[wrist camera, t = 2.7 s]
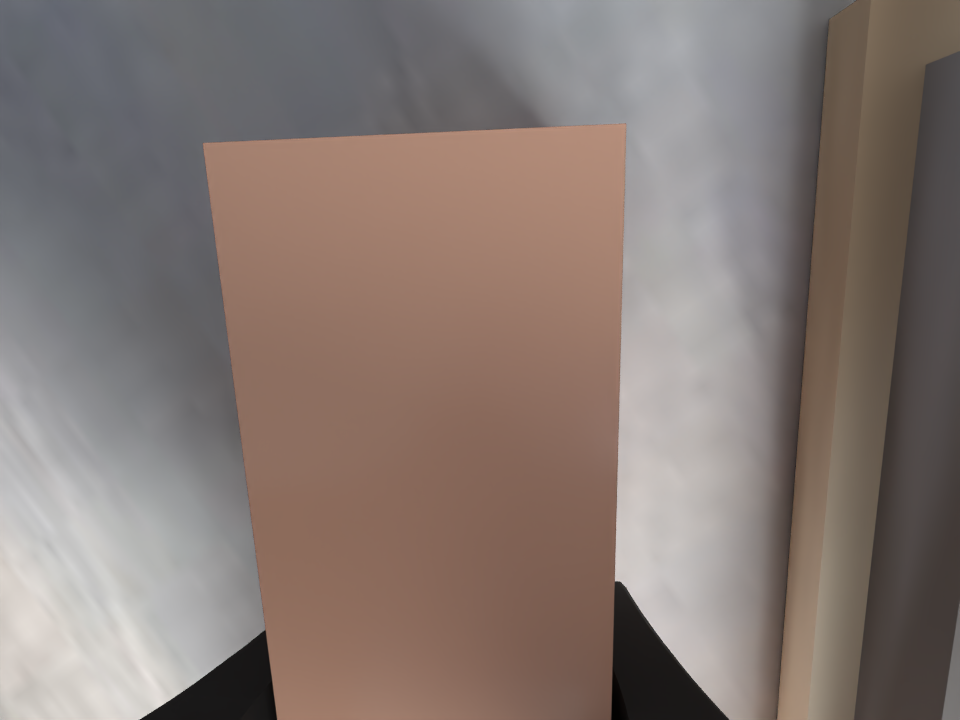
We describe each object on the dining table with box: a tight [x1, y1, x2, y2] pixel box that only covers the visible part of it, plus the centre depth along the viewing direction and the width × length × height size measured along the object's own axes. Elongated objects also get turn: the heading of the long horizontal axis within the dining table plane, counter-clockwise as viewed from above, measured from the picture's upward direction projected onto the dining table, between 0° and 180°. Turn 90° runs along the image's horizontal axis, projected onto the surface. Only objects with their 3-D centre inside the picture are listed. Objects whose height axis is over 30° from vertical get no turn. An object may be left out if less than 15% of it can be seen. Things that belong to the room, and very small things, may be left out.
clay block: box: [203, 123, 626, 720], centre depth 10 cm, size 4×16×5 cm, turn 2°
